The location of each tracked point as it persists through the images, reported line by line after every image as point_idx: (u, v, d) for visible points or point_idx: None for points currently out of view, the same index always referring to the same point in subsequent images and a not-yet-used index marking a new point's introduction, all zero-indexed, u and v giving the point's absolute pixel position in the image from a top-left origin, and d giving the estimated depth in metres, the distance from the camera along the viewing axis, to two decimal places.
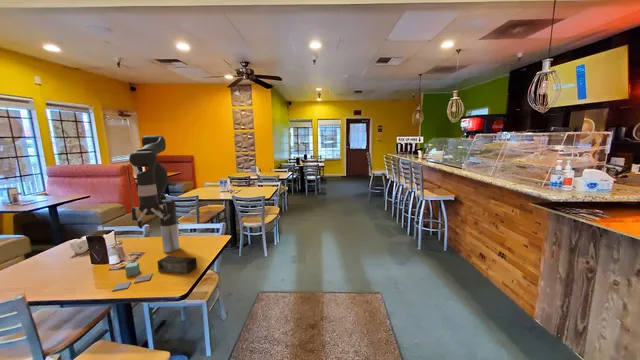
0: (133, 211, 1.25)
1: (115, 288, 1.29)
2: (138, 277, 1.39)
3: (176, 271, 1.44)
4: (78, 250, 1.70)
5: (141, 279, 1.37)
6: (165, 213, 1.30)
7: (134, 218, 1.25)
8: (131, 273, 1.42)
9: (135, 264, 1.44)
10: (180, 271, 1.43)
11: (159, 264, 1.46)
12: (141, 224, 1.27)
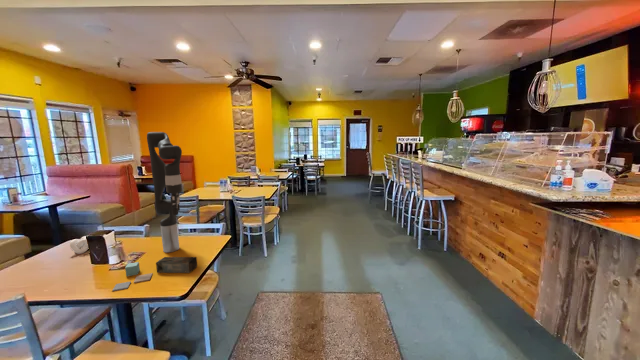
0: (176, 199, 1.40)
1: (115, 288, 1.29)
2: (138, 277, 1.39)
3: (178, 270, 1.44)
4: (78, 250, 1.70)
5: (141, 279, 1.37)
6: None
7: (177, 205, 1.40)
8: (131, 273, 1.42)
9: (135, 264, 1.44)
10: (182, 271, 1.44)
11: (158, 265, 1.44)
12: (177, 210, 1.43)
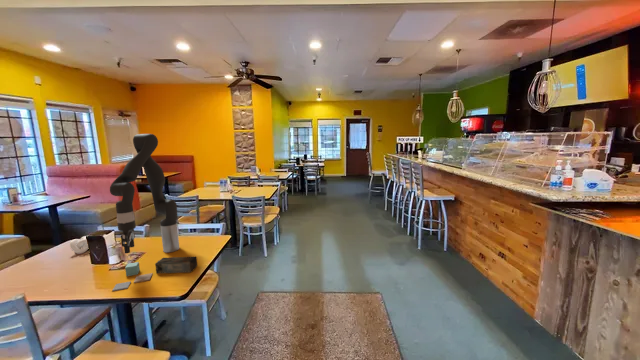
0: (127, 237, 1.36)
1: (115, 288, 1.29)
2: (138, 277, 1.39)
3: (178, 270, 1.44)
4: (78, 250, 1.70)
5: (141, 279, 1.37)
6: (134, 234, 1.48)
7: (127, 243, 1.37)
8: (131, 273, 1.42)
9: (135, 264, 1.44)
10: (183, 270, 1.44)
11: (157, 266, 1.44)
12: (129, 248, 1.39)
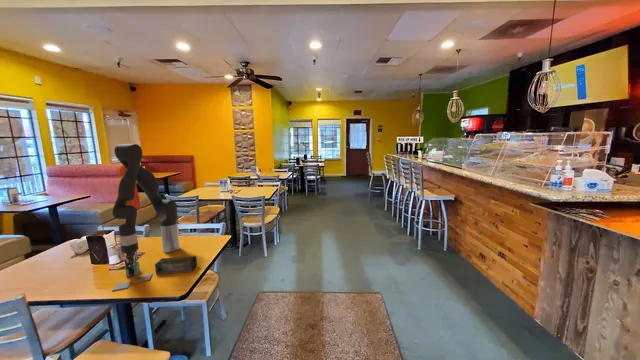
0: (130, 261, 1.38)
1: (115, 288, 1.29)
2: (138, 277, 1.39)
3: (179, 270, 1.44)
4: (78, 250, 1.70)
5: (141, 279, 1.37)
6: (136, 257, 1.49)
7: (132, 266, 1.40)
8: None
9: (135, 264, 1.44)
10: (183, 270, 1.44)
11: (157, 267, 1.43)
12: (133, 270, 1.43)
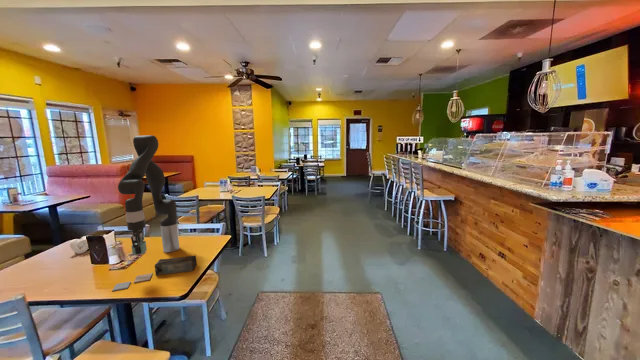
0: (137, 239, 1.30)
1: (115, 288, 1.29)
2: (138, 277, 1.39)
3: (180, 270, 1.44)
4: (78, 250, 1.70)
5: (141, 279, 1.37)
6: (143, 236, 1.41)
7: (139, 244, 1.32)
8: None
9: (142, 243, 1.36)
10: (184, 270, 1.45)
11: (157, 268, 1.42)
12: (140, 249, 1.35)
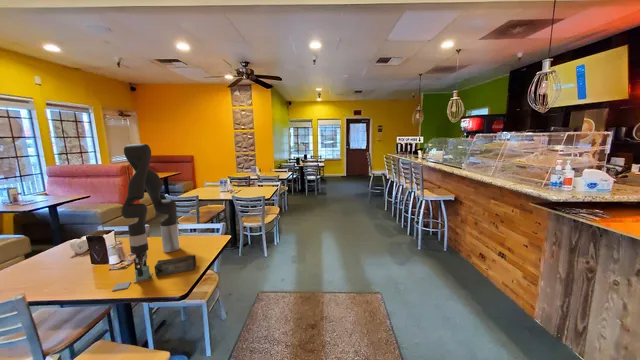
0: (140, 261, 1.32)
1: (115, 288, 1.29)
2: None
3: (181, 270, 1.45)
4: (78, 250, 1.70)
5: None
6: (146, 256, 1.44)
7: (141, 267, 1.32)
8: (141, 277, 1.36)
9: (145, 268, 1.38)
10: (185, 269, 1.45)
11: (157, 269, 1.41)
12: (142, 271, 1.35)
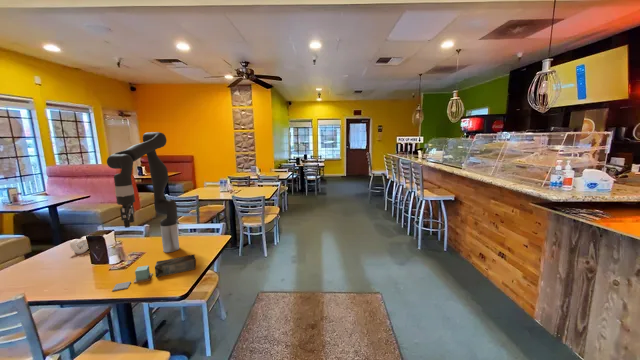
0: (126, 211, 1.32)
1: (115, 288, 1.29)
2: None
3: (182, 269, 1.45)
4: (78, 250, 1.70)
5: None
6: (133, 210, 1.44)
7: (127, 217, 1.33)
8: (141, 277, 1.36)
9: (145, 268, 1.38)
10: (186, 269, 1.46)
11: (157, 269, 1.40)
12: (129, 222, 1.35)
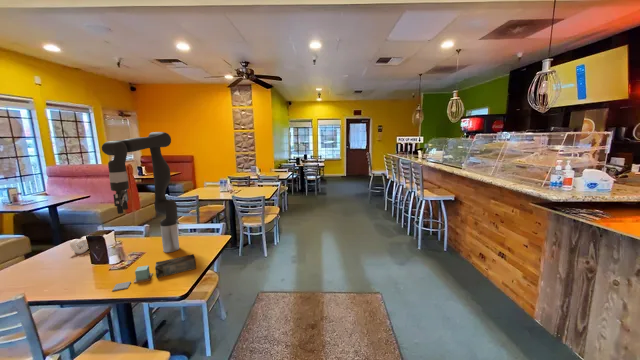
0: (119, 197, 1.33)
1: (115, 288, 1.29)
2: None
3: (182, 269, 1.45)
4: (78, 250, 1.70)
5: None
6: (127, 197, 1.46)
7: (120, 203, 1.34)
8: (141, 277, 1.36)
9: (145, 268, 1.38)
10: (187, 268, 1.46)
11: (158, 270, 1.40)
12: (122, 209, 1.37)
